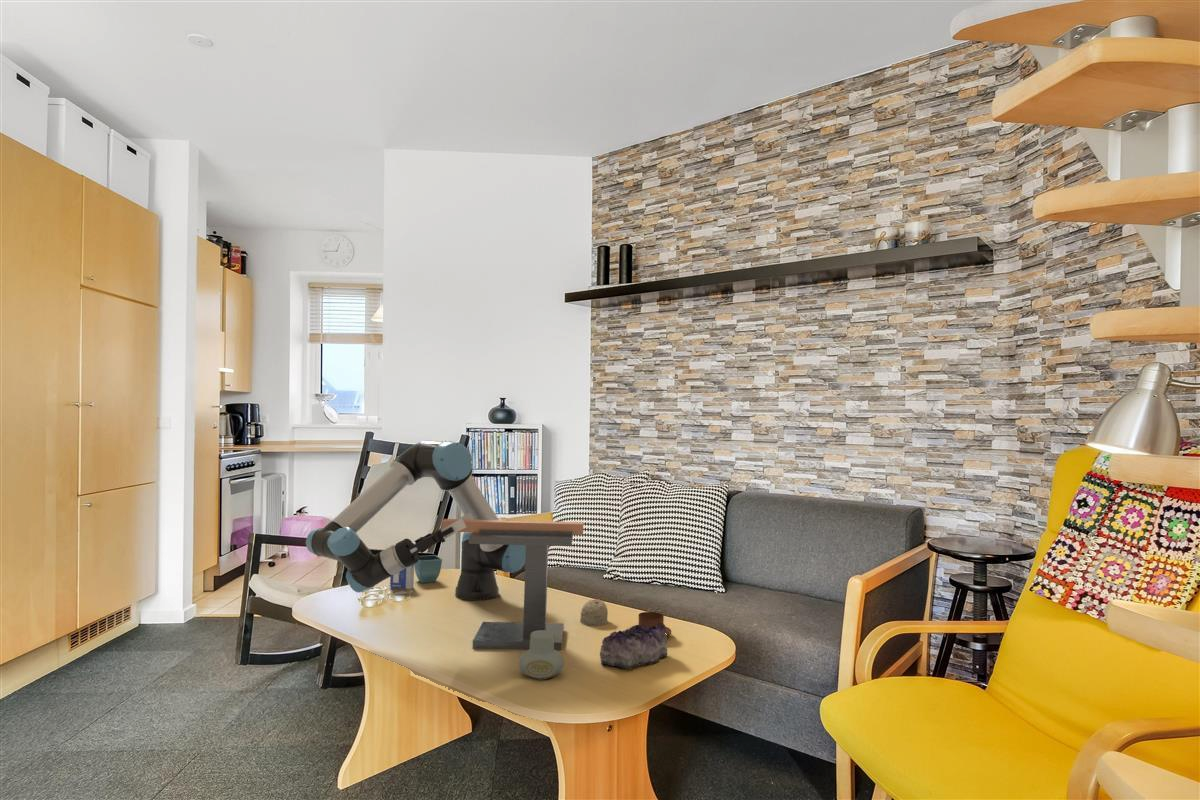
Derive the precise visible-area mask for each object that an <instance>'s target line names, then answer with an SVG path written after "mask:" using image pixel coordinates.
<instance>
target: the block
mask: <svg viewBox="0 0 1200 800" xmlns="http://www.w3.org/2000/svg"><path fill="white" fill-rule="evenodd" d="M458 520H460V519H459V518H456V519H455V518H444V519H442V520H441V527H440V529H443V528H445V527H447V526H449V525H450V524H452V523H454V522H456V521H458ZM463 521H464V523H465V525H466V528H464V529H462V530H460V531H458V532H457V533H464V532H478V533H480V529H485V530H528V531H571V532H572V535H573V536H575V535H576V536H583V535H584V522H582V521H548V520H547V521H545V520H544V521H543V520H541V521H540V520H539V521H538V520H537V521H536V520H534V521H533V520H503V519H501V520H500V519H499V520H465V519H463Z"/></svg>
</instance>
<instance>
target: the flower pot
mask: <svg viewBox="0 0 1200 800" xmlns="http://www.w3.org/2000/svg"><path fill="white" fill-rule="evenodd" d="M442 563H443V558H441V557H440V556H438V555H436V554H433V555H419V561H418V562H417V563H415V564H414V574H415V575H416V579H418V581H419V582H420V583H423V584H424V583H425V584H426V583H434V582H436V581H437V580H438V578H439V576H440V573H441V570H442V565H443V564H442Z"/></svg>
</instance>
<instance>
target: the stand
mask: <svg viewBox="0 0 1200 800" xmlns="http://www.w3.org/2000/svg"><path fill="white" fill-rule="evenodd" d="M573 537H574V535H572V532H571V531H528V530H485V529H480V533H478V532H473V533H472V534H471V535H470V536H469V544H498V545H526V554H525V564H524V590H523V592H524V594H523V622H521V621H520V622H519V621H518V622H517V621H509V622H508V621H482V622H481V625H480V627H479V628H478V630H477V632H476V634H475V635H474V638H473V640H472V649H488V650H491V649H492V650H494V649H495V650H497V649H498V650H529V649H530V634H531V633H532V632H533V631H537V630H547V631H551V632H553V634H554V650H556V651H562V648H563V640H564V628H565V627H564V626H565V625H564V623H563V622H547V598H548V594H547V593H548V567H549V566H548V565H549V563H548V561H549V547H550V546H553V547H572V545H573Z"/></svg>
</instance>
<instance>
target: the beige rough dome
mask: <svg viewBox="0 0 1200 800" xmlns="http://www.w3.org/2000/svg"><path fill="white" fill-rule="evenodd" d="M608 614H609V613H608V608H607V604H606V603H605V602H604V601H603V600H601V599H597V598H594V599H590V600H588V601H586V602H585V603H584V604H583V606H582V608H581V612H580V618H579V621H580V623H582V624H583V625H587V626H590V627H591V626H592V627H594V626H605V625H607V624H608Z"/></svg>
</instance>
